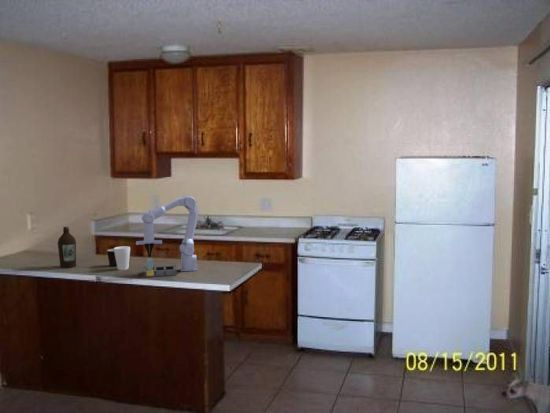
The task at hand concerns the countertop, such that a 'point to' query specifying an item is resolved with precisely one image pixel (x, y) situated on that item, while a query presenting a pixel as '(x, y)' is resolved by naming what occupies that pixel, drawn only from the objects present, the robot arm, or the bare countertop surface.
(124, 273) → the countertop surface
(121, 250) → the foam cup
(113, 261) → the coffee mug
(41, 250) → the countertop surface
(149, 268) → the panel
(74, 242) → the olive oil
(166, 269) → the rack
